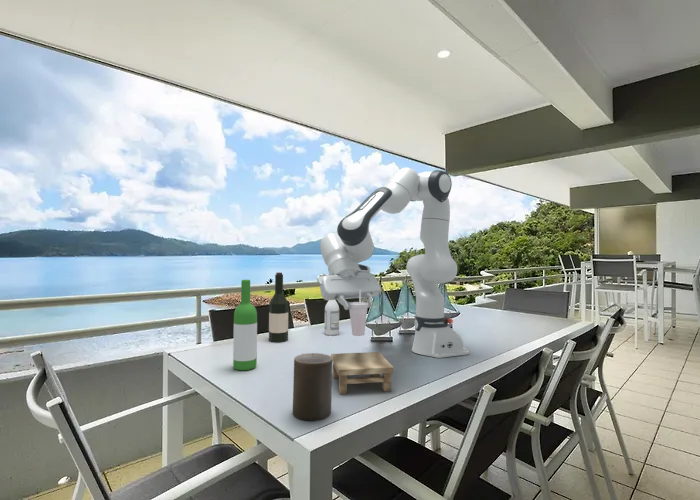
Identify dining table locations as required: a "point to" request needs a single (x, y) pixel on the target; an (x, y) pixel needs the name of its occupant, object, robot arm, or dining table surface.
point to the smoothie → (358, 316)
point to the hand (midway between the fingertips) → (359, 307)
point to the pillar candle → (312, 386)
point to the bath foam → (332, 318)
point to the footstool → (361, 369)
